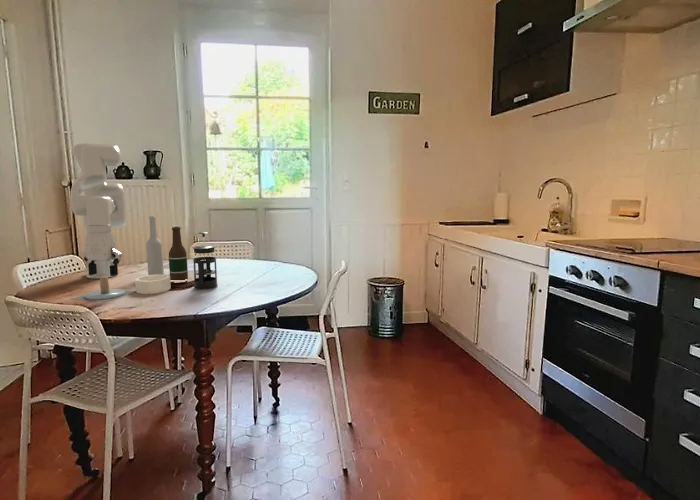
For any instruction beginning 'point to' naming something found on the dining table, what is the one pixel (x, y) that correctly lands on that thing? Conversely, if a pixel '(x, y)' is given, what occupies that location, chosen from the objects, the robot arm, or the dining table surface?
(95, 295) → the lid
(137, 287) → the bowl
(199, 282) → the french press
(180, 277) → the beer bottle
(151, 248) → the bottle
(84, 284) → the dining table surface
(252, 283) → the dining table surface
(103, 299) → the mat
